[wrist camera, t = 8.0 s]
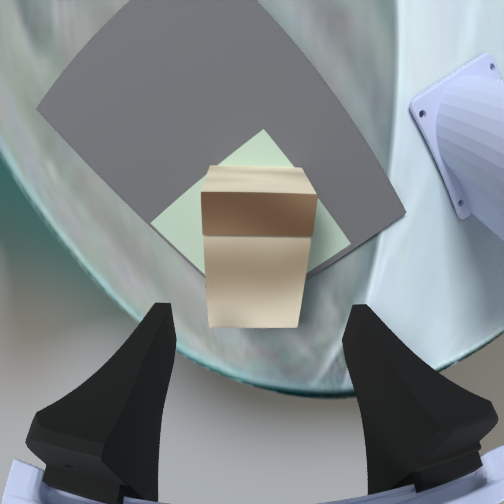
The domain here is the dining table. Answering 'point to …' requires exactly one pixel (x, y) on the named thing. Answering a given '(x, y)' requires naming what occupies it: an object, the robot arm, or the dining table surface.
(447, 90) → the robot arm
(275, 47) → the mat
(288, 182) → the block
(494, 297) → the dining table surface
